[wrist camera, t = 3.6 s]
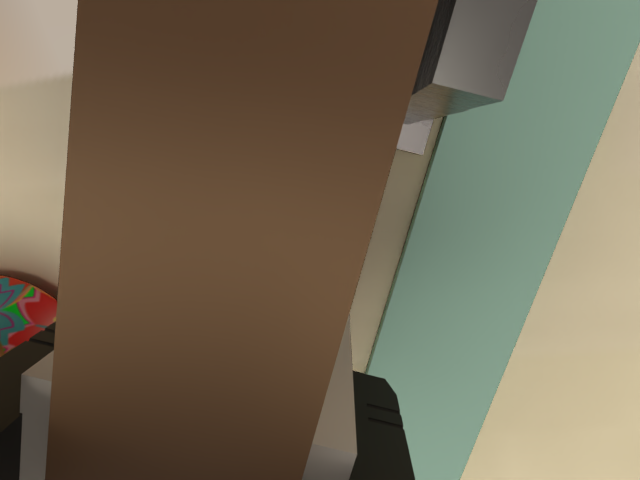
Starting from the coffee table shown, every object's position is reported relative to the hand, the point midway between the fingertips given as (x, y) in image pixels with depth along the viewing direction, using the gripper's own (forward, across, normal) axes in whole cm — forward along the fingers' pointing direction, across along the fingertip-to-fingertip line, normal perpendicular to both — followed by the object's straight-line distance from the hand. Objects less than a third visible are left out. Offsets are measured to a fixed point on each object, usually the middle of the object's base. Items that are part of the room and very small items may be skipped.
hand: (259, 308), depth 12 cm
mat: (+6, +8, 0) cm, 10 cm away
